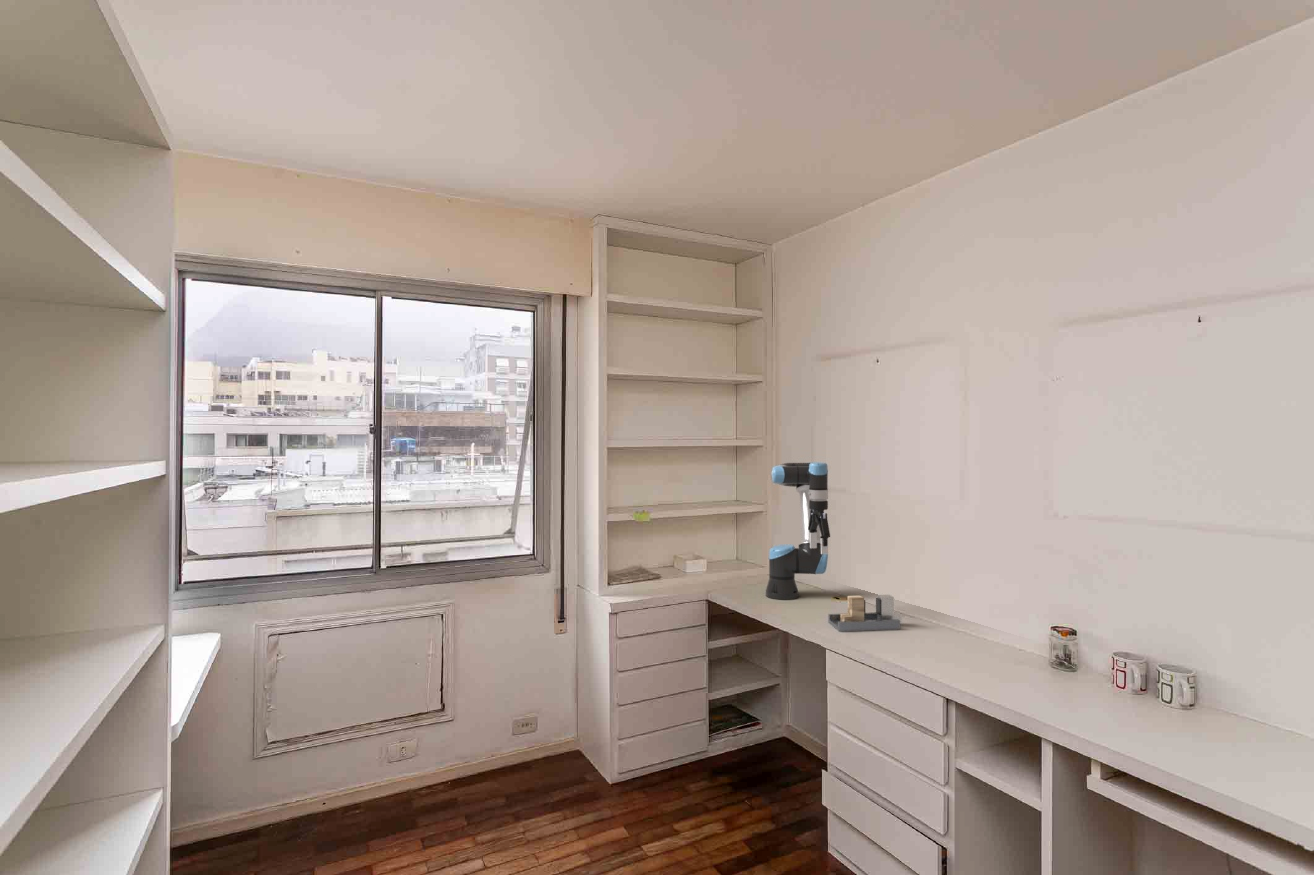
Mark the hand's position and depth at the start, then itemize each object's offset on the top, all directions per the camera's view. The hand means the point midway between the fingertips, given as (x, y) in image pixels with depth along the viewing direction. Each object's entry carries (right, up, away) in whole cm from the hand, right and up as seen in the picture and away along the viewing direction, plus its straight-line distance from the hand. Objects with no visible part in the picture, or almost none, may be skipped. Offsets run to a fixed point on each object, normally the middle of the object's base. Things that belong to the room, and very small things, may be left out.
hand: (818, 551), depth 278 cm
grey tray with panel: (+15, -27, -15) cm, 34 cm away
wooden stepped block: (+10, -25, -16) cm, 31 cm away
